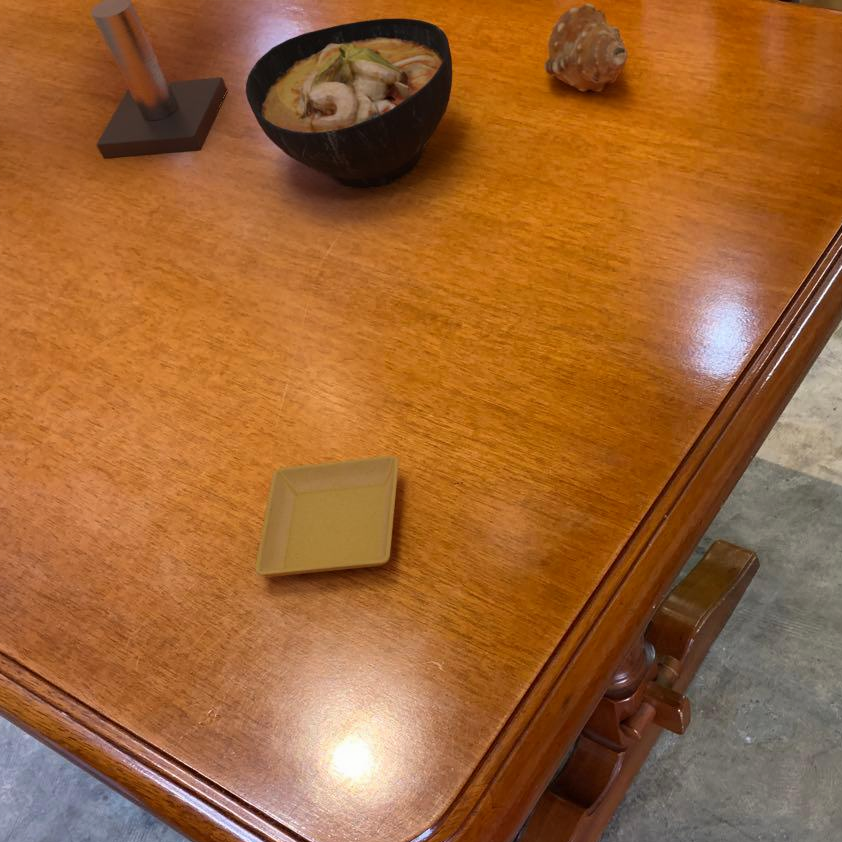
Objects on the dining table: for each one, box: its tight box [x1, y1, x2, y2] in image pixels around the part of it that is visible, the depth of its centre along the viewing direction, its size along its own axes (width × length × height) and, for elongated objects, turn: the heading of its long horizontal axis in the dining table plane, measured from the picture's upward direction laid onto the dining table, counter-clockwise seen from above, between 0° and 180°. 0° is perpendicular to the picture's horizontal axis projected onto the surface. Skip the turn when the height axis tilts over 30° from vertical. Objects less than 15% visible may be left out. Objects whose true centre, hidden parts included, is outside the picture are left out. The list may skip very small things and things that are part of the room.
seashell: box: [543, 3, 628, 92], centre depth 92 cm, size 9×8×10 cm
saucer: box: [254, 455, 400, 577], centre depth 66 cm, size 9×9×2 cm
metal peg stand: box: [90, 0, 228, 159], centre depth 96 cm, size 10×10×12 cm
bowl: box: [245, 17, 453, 190], centre depth 87 cm, size 17×17×10 cm
